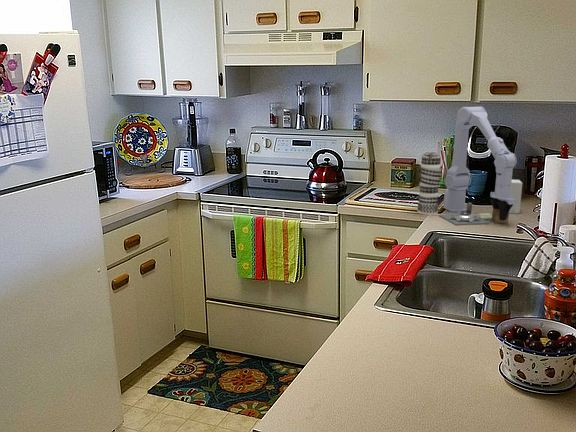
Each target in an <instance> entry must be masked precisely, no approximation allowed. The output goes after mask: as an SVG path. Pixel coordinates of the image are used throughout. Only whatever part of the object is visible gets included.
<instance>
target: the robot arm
mask: <svg viewBox="0 0 576 432" xmlns="http://www.w3.org/2000/svg"><path fill="white" fill-rule="evenodd" d="M454 125H455V127H454V137H453V138H454V139H453V141H454V143H453V151H452V152H453V155H452V165H451V167H450V168H449V169H448V170H447V171H446V175H445V178H444V185H445V187H446V190H445V191H444V196H443V206H444V207H442V209H445V210H447V211H449V212H452V213H453V212H457V211H461V212H467V208H466V207H465V206H466V193H467V190H468V187H470V184H471V182H472V179H471V178H472V177H471V174H470V169H469V168H468V167H467V160H468V158H467V157H468V146H469V145H468V144H469V143H468V142H469V134H470V133H469V131H470V129H472V127H473V126H475V127H478V129H479V130H480V132H481V133H482V135H483V136H484V138H485V139H486V141H487V145H486V146H487V148H488V149H489V151H490V153H491V154H492V156H493V158H494V161H493V163H494V166H495V173H496V174H495V175H496V177H495V184H494V185H495V187H494V191H490V194H489V195H490V196H489V197H490V198H491V199H489V200H490V203H491V206H492V210H493V209H499V210H500V220H506V218H507V215H508V212H509V210H510V209H511V207H512V206H513V204H514V201H515V199H513V198H512V197H511V196H510V191H511V181H512V180H513V172H514V171H513V169H514V168H515V167H516V165H517V163H518V160H517V156H516V154H515V153H513V152H511V151H510V150H509V149H508V147H507V146H506V144H505V142H504V139H503V138H501V137H498V136H497V135H496V133H495V130H494V129H493V127H492V125H491V123H490V121H489V119H488V113H487V111H486V109H485V108H484V107H483V106H482V105H480V106H462V107H461V108H459V109H458V110H457V115H456V121H455V124H454ZM492 198H493V199H492Z"/></svg>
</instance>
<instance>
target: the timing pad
mask: <svg viewBox="0 0 576 432" xmlns="http://www.w3.org/2000/svg"><path fill="white" fill-rule="evenodd" d="M479 214H480V217H481V219H483V220H486V221H487V220H491V221H492V213H489V212H486V213H479Z"/></svg>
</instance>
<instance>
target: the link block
mask: <svg viewBox="0 0 576 432" xmlns="http://www.w3.org/2000/svg"><path fill="white" fill-rule="evenodd" d="M491 215H492V220H491V222H492V223H494V224H508V223H509V218H510V217H509V216H510V213H509V212H508V215H507V218H506V220H500V210H499V209H493V208H492V213H491Z"/></svg>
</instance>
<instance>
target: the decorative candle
mask: <svg viewBox="0 0 576 432" xmlns="http://www.w3.org/2000/svg"><path fill="white" fill-rule="evenodd" d="M441 158H442V156H441V155H440V153H439V152H435V151H426V152H424V153H423V155H421V163H420V165H419V166H418V168H419V170H418V172H419V174H418V177H419V178H418V181H419V183H418V184H419V193H418V195H417V198H418V199H417V201H418V203H417V213H418V214H420V215H425V216H426V215H428V216H430V215H431V216H432V215H433V216H435V215H437V214H439V206H440V205H439V202H440V200H439V199H440V196H439V193H440V192H439V187H440V186H441V182H442V181H441V180H440V178H441V177H442V175H441V174H443V173H442V171H441V169H442V168H443V166H442V164H441Z"/></svg>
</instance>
